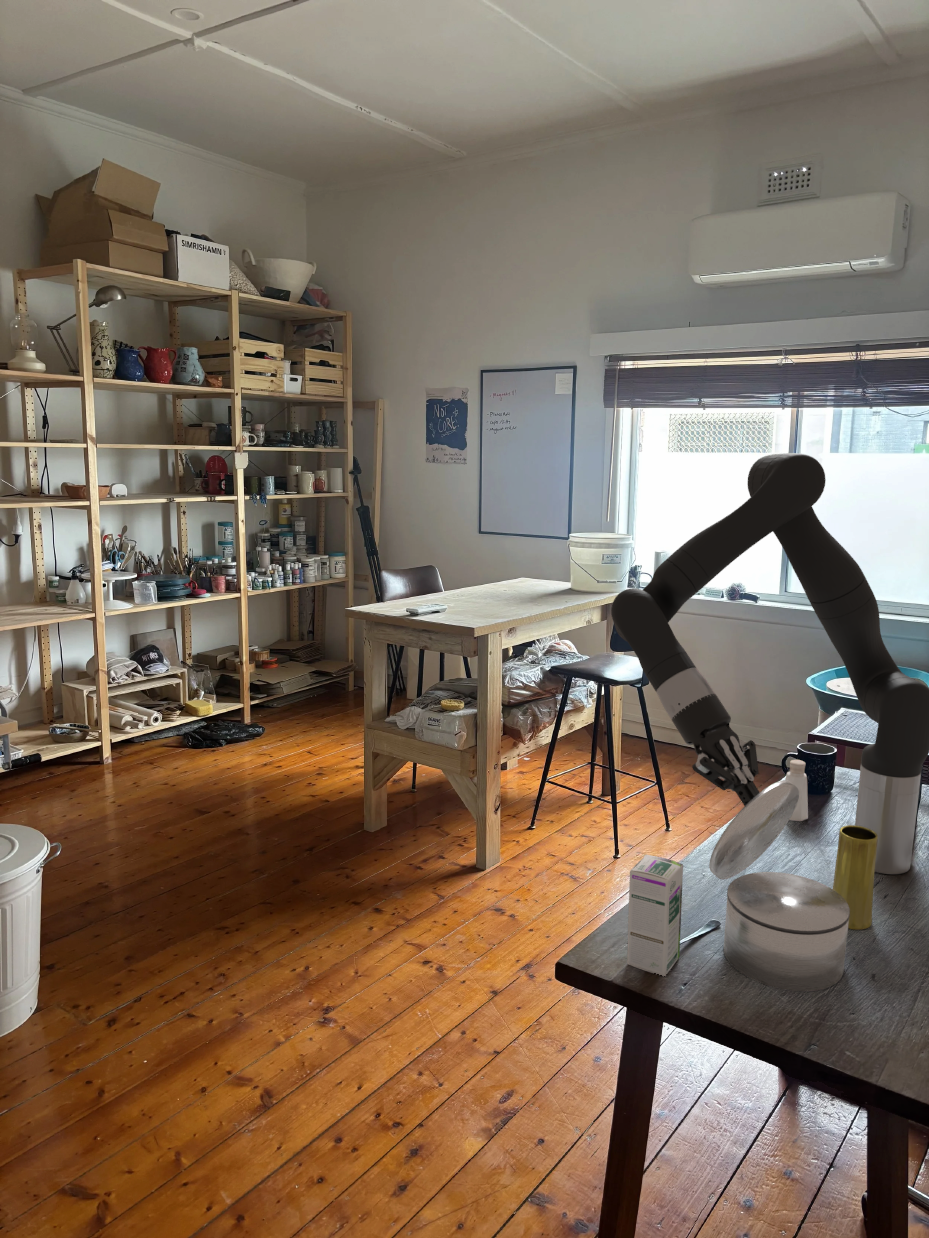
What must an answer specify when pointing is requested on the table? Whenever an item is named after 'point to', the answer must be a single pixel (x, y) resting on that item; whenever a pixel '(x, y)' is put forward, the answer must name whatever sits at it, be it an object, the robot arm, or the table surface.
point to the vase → (856, 873)
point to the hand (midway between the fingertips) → (758, 809)
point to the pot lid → (754, 829)
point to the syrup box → (654, 914)
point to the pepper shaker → (800, 782)
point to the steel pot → (786, 931)
